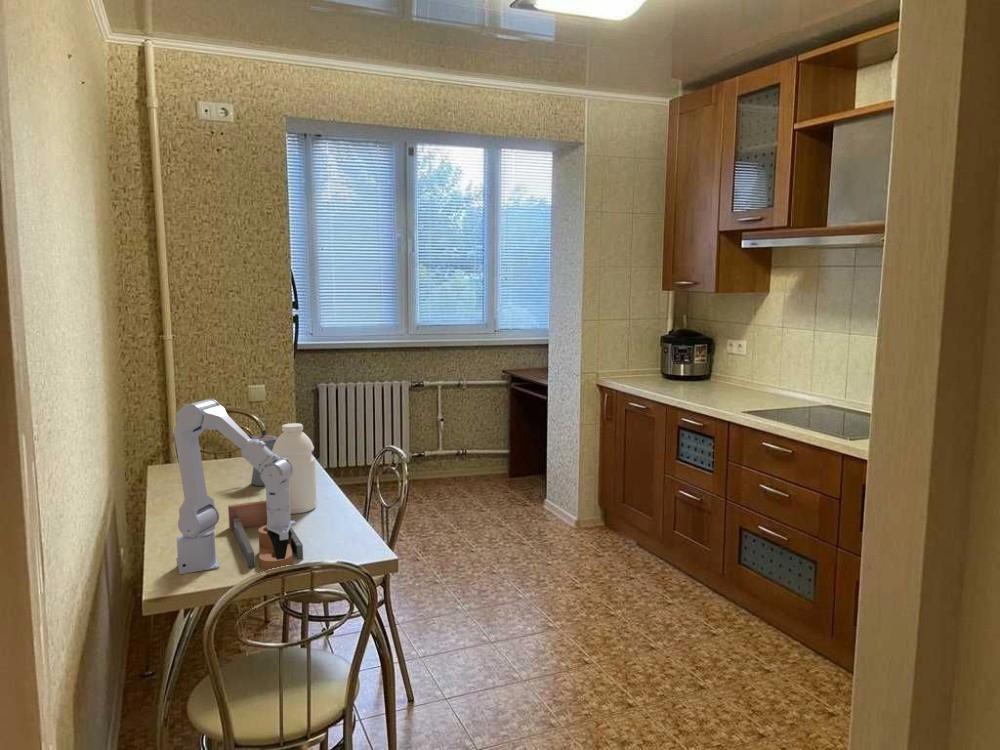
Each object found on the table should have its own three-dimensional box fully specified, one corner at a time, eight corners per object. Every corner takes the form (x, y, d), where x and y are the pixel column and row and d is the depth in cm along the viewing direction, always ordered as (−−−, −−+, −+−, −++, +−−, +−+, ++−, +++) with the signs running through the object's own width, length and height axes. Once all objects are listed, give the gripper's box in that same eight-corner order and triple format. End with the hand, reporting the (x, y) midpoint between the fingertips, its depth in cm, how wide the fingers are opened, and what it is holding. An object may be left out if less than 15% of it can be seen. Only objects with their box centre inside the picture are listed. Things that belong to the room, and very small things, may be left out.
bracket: (259, 549, 206) (258, 525, 206) (290, 545, 209) (289, 522, 208) (259, 573, 189) (258, 547, 189) (293, 569, 192) (292, 543, 191)
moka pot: (276, 487, 267) (274, 433, 265) (237, 486, 270) (234, 432, 267) (288, 480, 276) (285, 428, 274) (249, 479, 279) (247, 427, 276)
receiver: (244, 568, 192) (243, 542, 191) (228, 527, 224) (227, 505, 223) (306, 558, 199) (305, 533, 198) (282, 520, 231) (282, 498, 230)
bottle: (321, 501, 250) (318, 420, 247) (312, 514, 237) (309, 428, 233) (279, 502, 250) (276, 421, 246) (268, 514, 236) (264, 429, 233)
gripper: (300, 512, 182) (301, 565, 184) (289, 497, 195) (291, 546, 197) (270, 516, 179) (272, 570, 181) (261, 501, 192) (263, 551, 194)
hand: (280, 558), depth 188 cm, fingers closed
